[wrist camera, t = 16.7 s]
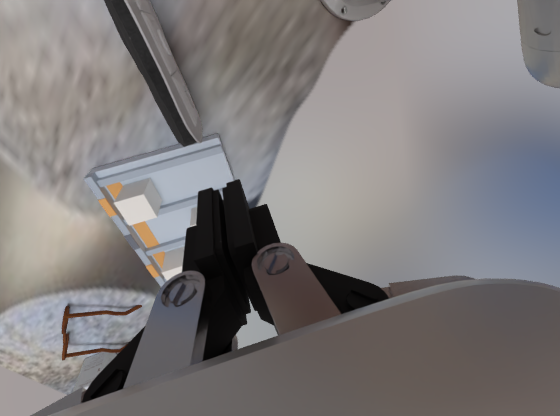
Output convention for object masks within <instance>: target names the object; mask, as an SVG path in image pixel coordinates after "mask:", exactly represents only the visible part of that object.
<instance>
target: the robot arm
mask: <svg viewBox="0 0 560 416" xmlns="http://www.w3.org/2000/svg"><path fill="white" fill-rule="evenodd" d="M390 1H391V0H321V2H322V3H323V5H324V6H325V7H326V8H327V9H328V10H329V12H331V13H332V14H333V15H335V16H336V17H338V18H341V19H343V20H348V21H359V20H363V19H367V18H369V17H371V16H373V15H375V14H377V13H378V12H379V11H381V10H382V9H383V8H384V7H385V6H386V5H387V4H388V3H389V2H390ZM380 2H381V3H380ZM517 2H518V14H519V25H520V35H521V46H522V52H523V57H524V62H525V65H526V68H527V69H528V71H529V73H530V74H531V75H532V77H534V78H535V79H536V80H537V81H539V82H541V83H542V84H544V85H547V86H551V87H554V88H560V0H517ZM341 9H343V12H342V13H341ZM226 185H227V187H224V188H222V192H223V199H222V196H221V194H220V191H219V190H218V189H217V190H213V188H212V187H211V188H208V189H205V190H201V191H198V201H197V219H196V225H195V226H192V227H189V228H187V230H186V238H185V247H184V256H183V266H182V273H179V274H177V275H175V276H173V277H171V278H170V279H169V280H168V281H166V282H165V283H164V285H163V286H162V287H161V288H160V290H159V292H158V294H157V296H156V298H155V301H154V304H153V307H152V310H151V312H150V315H149V318H148V321H147V323H146V326H145V327H144V328H143V329H142V330H141V331H140V332H139V333H138V334H137V335H136V336H135V337H134V338H133V339H132V340H131V341H130V342H129V343H128V344H127V345H126V346H125V347H124V348H123V349H122V350H121V352H120V353H119V354H118V355H117V356H116V357H115V358H114V359H113V360H112V361H111V362H110V363H109V364H108V365H107V366H106V367H105V368H104V369H103V370H102V371H101V372H100V373H99V374H98V375H97V376H96V378H95V379H94V380H93V381H92V383H91V384H90V385H89V387H88V389H87V390H86V389H85V388H83V387H82V388H80V389H78V390H76V391H74V392H73V393H71V394H69V395H67V396H65V397H64V398H62V399H60V400H58V401H56V402H55V403H53V404H51V405H49V406H47V407H45V408H44V409H42V410H40V411H38V412H36V413H35V414H33V415H31V416H560V288H558V287H555V286H551V285H548V284H544V283H539V282H533V281H527V280H516V279H474V278H470V277H466V276H448V277H439V278H430V279H421V280H413V281H404V282H396V283H389V287H385V288H380V287H378V286H376V285H374V284H371V283H369V282H366V281H363V280H360V279H356V278H353V277H350V276H347V275H343V274H340V273H337V272H334V271H330V270H327V269H324V268H321V267H318V266H314V265H311V264H308V263H306V262H305V261H304V259H303V258H302V257H301V255H300V254H299V252H298V251H297V249H296V248H295V247H293V246H292V245H289V244H286V243H281V242H280V239H279V237H278V234H277V231H276V228H275V226H274V223H273V220H272V217H271V214H270V211H269V209H268V206H267V204H264V205H261V206H258V207H255V208H251V209H249V206H248V203H247V200H246V197H245V194H244V191H243V188H242V185H241V182H240V179H239V180H235V181H232V182H228V183H226ZM248 296H249V297H248ZM249 299H250V301H251V303H252V306H253V308H254V310H255V311H258V314H259V316H260V318H261V319H262V320H264V321H266V322H268V323H270V324H272V325H274V326H275V329H276V331H277V334H278V336H276V337H273V338H270V339H267V340H264V341H261V342H258V343H255V344H252V345H250V346H246V347H243V348H240V349H238V340H237V336H236V333H237V332H238V331H239V329H240V328H241V326H243V325H246V324H247V319H246V314H248V313H250V312H251V309H250V303H249Z"/></svg>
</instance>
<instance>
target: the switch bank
mask: <svg viewBox="0 0 560 416" xmlns="http://www.w3.org/2000/svg"><path fill="white" fill-rule="evenodd" d="M148 178H150V179H151V181H152V182H153V184H154V186H155V188H156V190H157V191H158V193H159V195H160V197H161V199H162V202H161V206H160V209H159V213H158V217H157V218H154V219H150V220H147V221H144V222H140V223H137V224H134V225H130V226H129V225H128V223H127V222H126V220H125V219H124V217H123V216H122V214H121V213H120V212H119V210H118V209H117V207H116V206H115V204H114V201H115V199H116V197H117V196H118V194H119V192H120V190H121V189H122V187H123V185H127V184H130V183H134V182H137V181H141V180H144V179H148ZM84 180H85V182H86V183H87V184H88V186H89V187H90V189H91V190H92V191H93V193H94V194H95V196H96V197H97V198H98V201H99V203H100V204H101V205H102V207H103V208H104V209H105V211H106V212H107V214H108V215H109V216H110V217H111V218H112V219H113V221H114V222H115V223H116V225H117V226H118V228H119V229H120V230H121V232H122V233H123V235H124V237H125V239H126V240H127V241H128V243H129V244H130V245H131V247H132V248H133V250H135V251H136V253H137V254H138V255H139V257H140V258H141V260H142V261H143V262H144V264H145V265H146V268H147V269H148V270H149V272H150V273H151V275H152V276H153V277H154V278H155V279H156V280H157V282H158V283H159V285H160V286H161V287H162V286H163V285H164V283H165V282H166V281H167V280H166V279H165V277H164V276H163V274H162V273H161V272H162V267H163V262H164V256H165V252H168V251H171V250H174V249H178V248H181V247H184V246H185V238H186V230H187V228H189V227H190V220H191V209H192V208H195V207H197V201H198V191H201V190H205V189H208V188H211V187H212V188H213V190H217V189H218V190H219V191H220V194H221V196H222V199H223V192H222V188H224V187H227V185H226V183H228V182H232V181H234V178H233V175H232V172H231V169H230V166H229V164H228V161H227V158H226V155H225V152H224V149H223V146H222V143H221V141H220V138H219V135H218V134H214V135H211V136H207V137H203V138H202V143H198V142H197V143H194V144H191V145H188V146H186V147H183V146H182V145H181V144H178V145H175V146H171V147H168V148H164V149H160V150H157V151H153V152H150V153H146V154H143V155H139V156H135V157H132V158H128V159H125V160H121V161H117V162H114V163H110V164H107V165H103V166H100V167H96V168H93V169H92V170H91V171H90V172H89V173H88V174H87V175H86V177H85V178H84Z"/></svg>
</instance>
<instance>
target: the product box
mask: <svg viewBox="0 0 560 416" xmlns="http://www.w3.org/2000/svg"><path fill="white" fill-rule="evenodd" d="M117 355H118V354H116V353H109V352H100V353H98V354H95V355H93V356H90V357H88V358H86V359H85V360H84V363H83V365H82V368H81V371H80V374H79V376H78V379H77V382H76V384H75V387H74V390H73V392H74V391H76V390H78V389H80V388H82V387H83V388H85V389H86V390H87V389H88V387H89V385H90V384H91V383H92V381H93V380H94V379H95V378H96V376H97V375H98V374H99V373H100V372H101V371H102V370H103V369H104V368H105V367H106V366H107V365H108V364H109V363H110V362H111V361H112V360H113V359H114V358H115V357H116V356H117ZM73 392H72V393H73Z"/></svg>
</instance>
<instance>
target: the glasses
mask: <svg viewBox="0 0 560 416" xmlns="http://www.w3.org/2000/svg"><path fill="white" fill-rule="evenodd" d="M141 307H142V305H137V306H135V307H134V308H132V309H130V310H128V311H126V312H113V311H107V310H105V311H95V312H85V313H74V314H69V306H66V308H65V311H64V316H63V322H62V334H63V351H62V360H65V358H67V357H73V356H79V355H85V354H91V353H97V352H109V353H117V352H121V350H122V349H123V348H124V347H125V346H126V345H125V346H124V347H122V348H121V349H105V348H100V349H94V350H88V351H81V352H75V353H69V354H67V348H68V341H69V333H68V334H66V329H67V324H68V318H73V317H83V316H93V315H102V314H109V315H128V314H129V313H131V312H133V311H135V310H137V309H139V308H141Z"/></svg>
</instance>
